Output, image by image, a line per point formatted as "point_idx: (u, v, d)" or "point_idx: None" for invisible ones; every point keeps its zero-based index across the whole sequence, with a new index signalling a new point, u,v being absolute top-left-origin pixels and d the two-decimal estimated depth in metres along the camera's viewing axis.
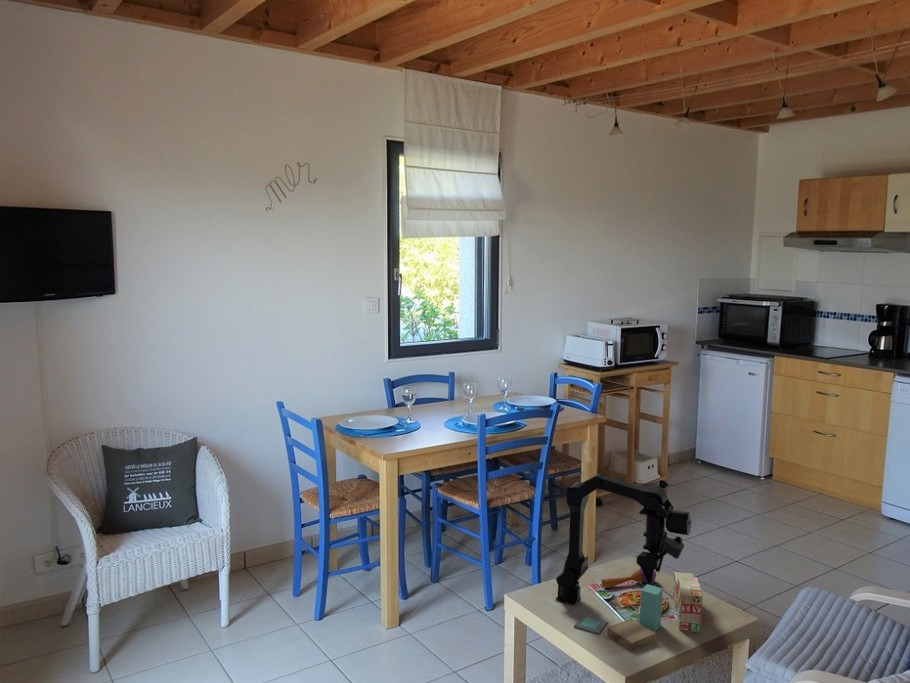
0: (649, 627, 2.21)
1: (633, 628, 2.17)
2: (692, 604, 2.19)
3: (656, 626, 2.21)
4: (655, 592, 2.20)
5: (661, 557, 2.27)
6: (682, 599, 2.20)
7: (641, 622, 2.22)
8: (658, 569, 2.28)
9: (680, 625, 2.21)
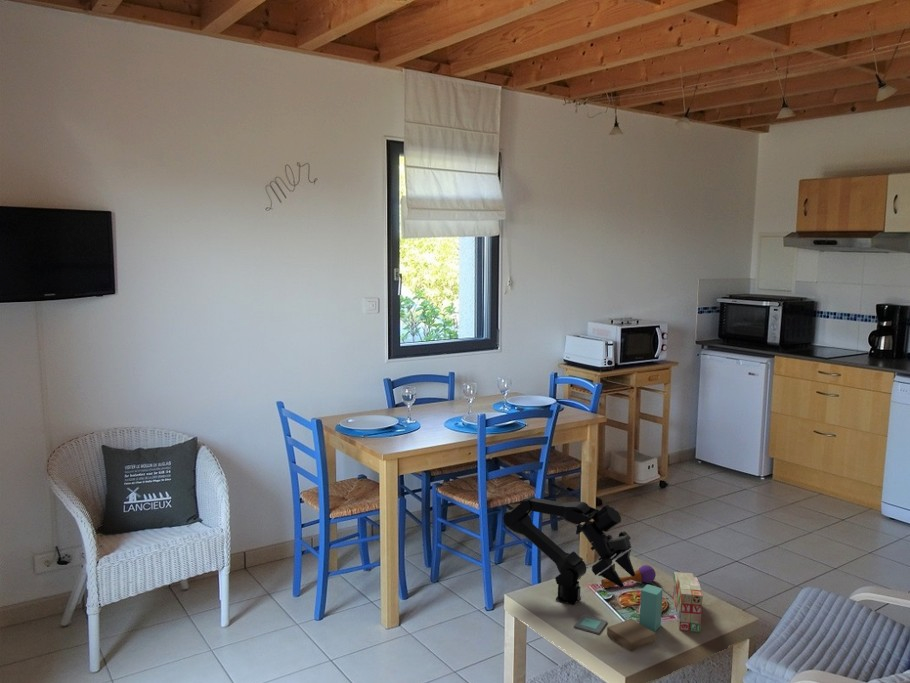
0: (649, 627, 2.21)
1: (633, 628, 2.17)
2: (692, 604, 2.19)
3: (656, 626, 2.21)
4: (655, 592, 2.20)
5: (627, 561, 2.31)
6: (682, 599, 2.20)
7: (641, 622, 2.22)
8: (632, 573, 2.30)
9: (680, 625, 2.21)
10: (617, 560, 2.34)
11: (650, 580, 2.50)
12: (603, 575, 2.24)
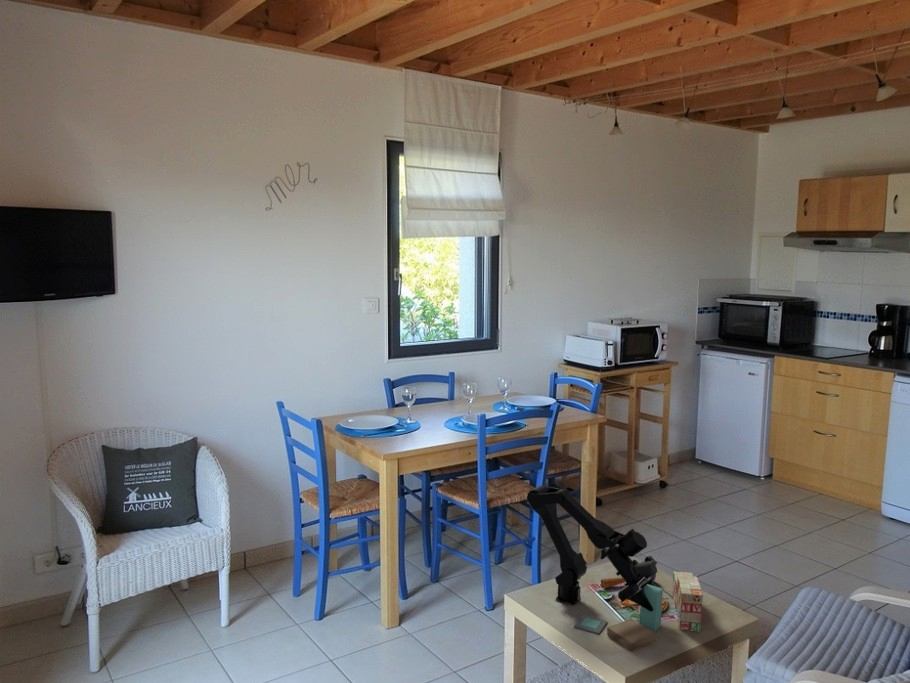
0: (649, 627, 2.21)
1: (633, 628, 2.17)
2: (692, 603, 2.20)
3: (656, 626, 2.21)
4: (655, 592, 2.20)
5: None
6: (682, 598, 2.20)
7: (641, 622, 2.22)
8: None
9: (680, 624, 2.22)
10: (641, 587, 2.28)
11: None
12: (632, 599, 2.21)
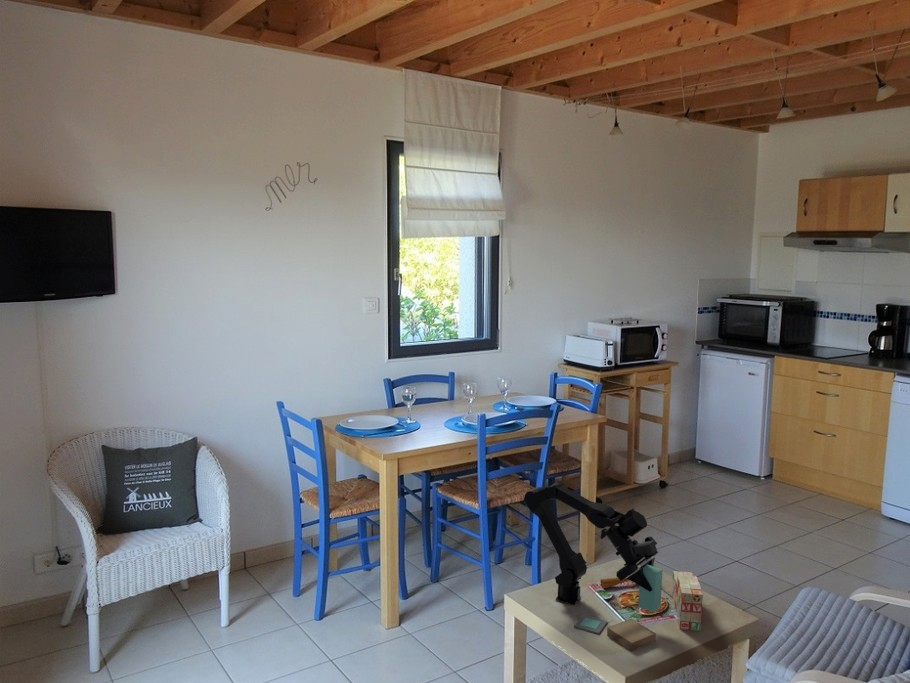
0: (648, 607, 2.19)
1: (633, 628, 2.17)
2: (692, 603, 2.20)
3: (655, 606, 2.19)
4: (654, 573, 2.18)
5: None
6: (682, 598, 2.20)
7: (640, 602, 2.21)
8: None
9: (680, 624, 2.22)
10: (641, 568, 2.26)
11: None
12: (631, 579, 2.19)
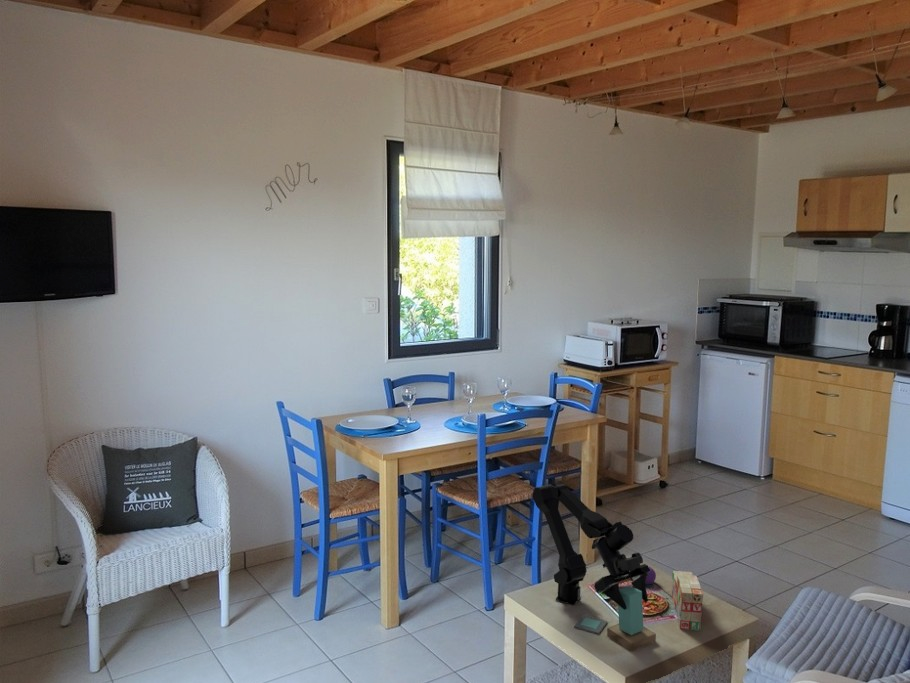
0: (626, 629, 2.14)
1: None
2: (692, 603, 2.20)
3: (632, 629, 2.13)
4: (629, 594, 2.13)
5: (641, 585, 2.18)
6: (683, 598, 2.21)
7: (620, 624, 2.16)
8: (645, 598, 2.16)
9: (681, 623, 2.22)
10: (633, 583, 2.21)
11: (650, 581, 2.49)
12: (607, 594, 2.15)
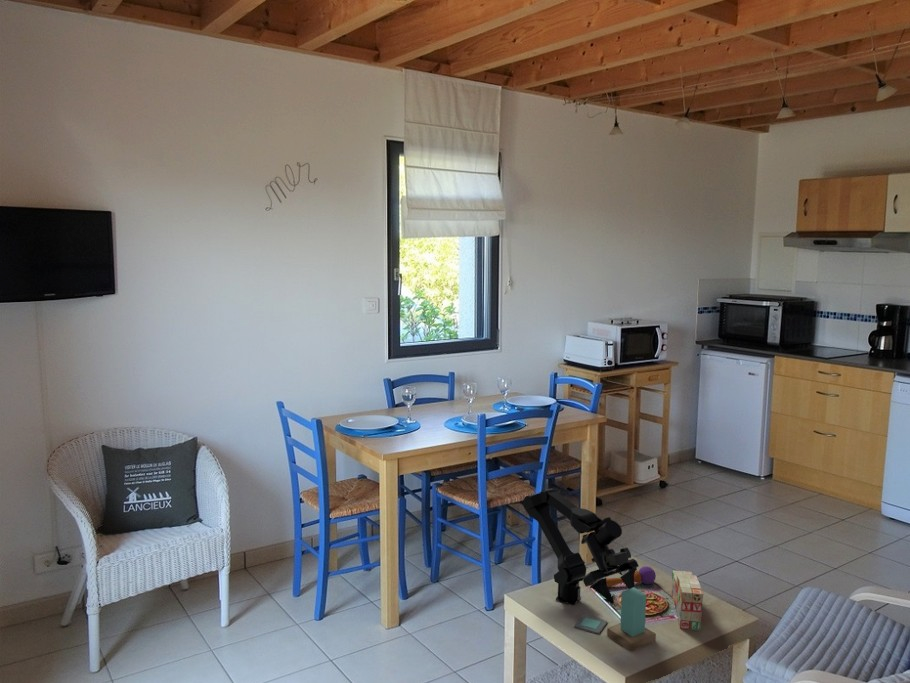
0: (628, 631, 2.14)
1: None
2: (692, 602, 2.20)
3: (634, 631, 2.13)
4: (634, 596, 2.12)
5: (629, 579, 2.22)
6: (683, 597, 2.21)
7: (622, 624, 2.16)
8: None
9: (681, 623, 2.22)
10: (622, 577, 2.25)
11: (650, 581, 2.49)
12: (595, 588, 2.19)
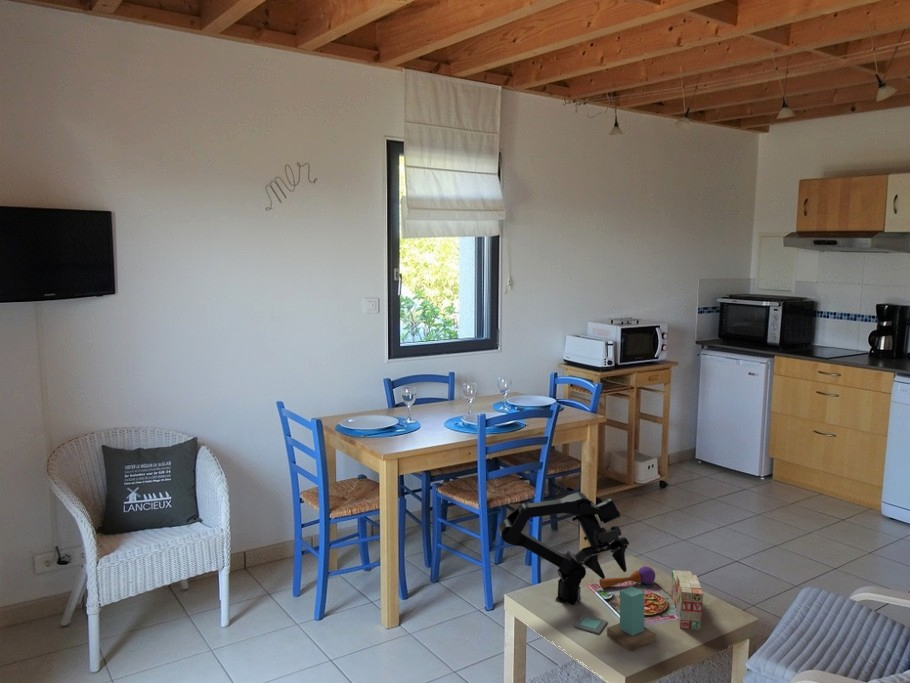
0: (628, 630, 2.14)
1: None
2: (693, 602, 2.21)
3: (634, 630, 2.13)
4: (632, 594, 2.13)
5: (620, 556, 2.32)
6: (683, 597, 2.21)
7: (621, 624, 2.16)
8: (624, 569, 2.30)
9: (681, 623, 2.22)
10: (613, 554, 2.35)
11: (649, 581, 2.49)
12: (587, 564, 2.29)
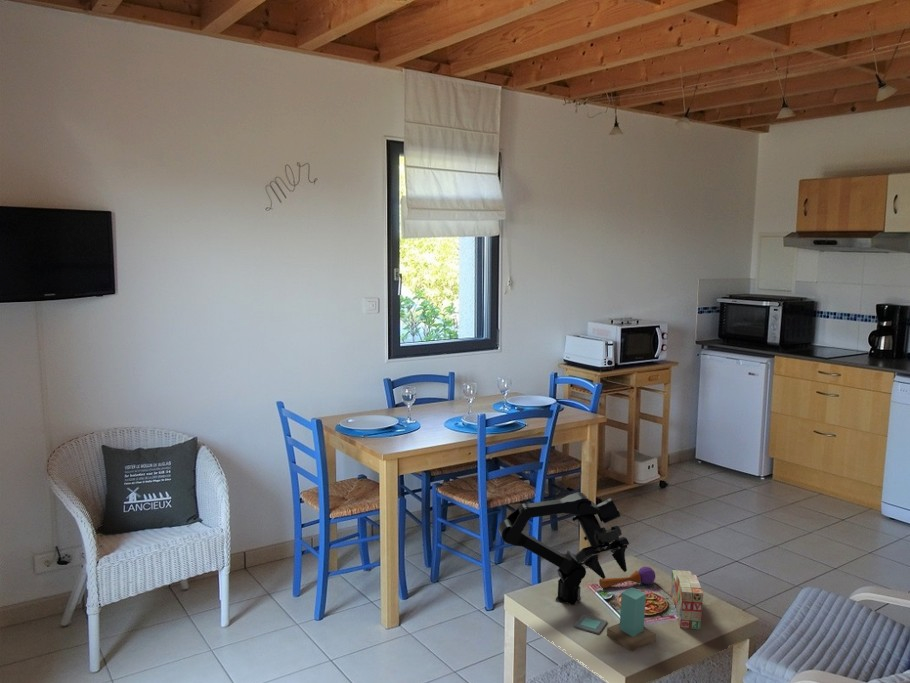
0: (628, 631, 2.14)
1: None
2: (693, 602, 2.21)
3: (635, 631, 2.13)
4: (635, 597, 2.12)
5: (620, 556, 2.32)
6: (683, 597, 2.21)
7: (621, 625, 2.16)
8: (624, 568, 2.30)
9: (681, 623, 2.22)
10: (613, 554, 2.35)
11: (649, 582, 2.49)
12: (587, 564, 2.29)
